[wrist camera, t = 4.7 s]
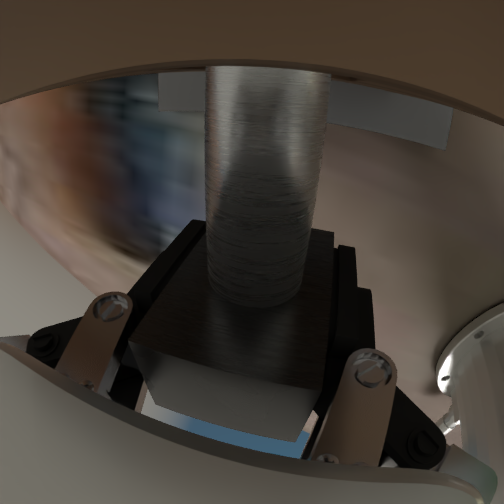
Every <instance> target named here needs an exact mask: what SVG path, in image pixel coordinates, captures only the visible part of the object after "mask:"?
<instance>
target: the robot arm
mask: <svg viewBox="0 0 504 504" xmlns="http://www.w3.org/2000/svg"><path fill="white" fill-rule="evenodd" d="M205 232H206V221H201V220H194V219H193V220H191V221H190V223H189V224H188V225H187V226H186V227H185V228H184V229H183V230H182V232H181V233H180V234H179V235H178V236H177V237H176V238H175V240H174V241H173V242H172V243H171V244H170V245H169V246H168V248H167V249H166V250H165V251H163V252H162V253H161V254H160V255H159V256H158V257H157V259H156V260H155V261H154V262H153V263H152V264H151V266H150V267H149V268H148V269H147V270H146V272H145V273H144V274H143V275H142V276H141V278H140V279H139V280H138V281H137V282H136V284H135V285H134V286H133V287H132V289H131V290H130V291H129V292H128V293H127V295H126V294H125V293H122V292H108V293H104V294H102V295H100V296H98V297H97V298H96V299H94V300H93V302H92V303H91V304H90V305H89V307H88V309H87V311H86V312H85V314H84V316H82V317H79V318H76V319H72V320H69V321H66V322H62V323H59V324H55V325H52V326H48V327H45V328H42V329H40V330H38V331H37V332H36V333H34V334H33V335H32V336H30V335H19V336H9V337H0V504H504V303H502V304H500V305H498V306H496V307H494V308H492V309H490V310H488V311H486V312H485V313H483V314H482V315H480V316H479V317H477V318H476V319H474V320H473V321H472V322H471V323H469V324H468V325H467V326H466V327H464V328H463V329H462V330H461V331H460V332H459V333H458V334H457V335H456V336H455V337H454V338H453V339H452V340H451V342H450V343H449V344H448V345H447V346H446V348H445V349H444V351H443V352H442V354H441V356H440V357H439V360H438V363H437V366H436V379H437V385H438V387H439V389H440V391H441V392H443V393H444V394H445V395H447V396H449V397H451V398H452V405H451V406H450V408H449V412H448V413H446V414H445V415H444V416H443V417H442V418H441V419H439V420H438V421H437V422H436V423H434V422H433V421H432V420H431V419H430V418H429V417H428V416H427V415H425V414H424V413H423V412H422V411H421V410H420V409H419V408H418V407H417V406H416V405H415V404H414V403H413V402H412V401H411V400H410V399H409V398H408V397H407V396H406V395H405V394H404V393H403V392H402V391H401V390H400V389H399V388H398V387H397V386H396V382H397V369H396V366H395V363H394V362H393V361H392V360H391V358H390V357H389V356H387V355H386V354H385V353H383V352H381V351H379V350H377V349H375V332H374V317H373V304H372V293H371V290H370V289H366V288H360V287H357V269H356V254H355V248H354V247H349V246H344V245H339V246H338V249H337V248H334V251H333V275H332V292H331V307H330V320H329V332H328V342H327V352H326V361H325V370H324V379H323V386H322V392H321V394H320V396H319V398H318V400H317V402H316V404H315V406H314V408H313V410H314V411H315V413H316V414H317V415H318V416H317V418H316V421H315V423H314V426H313V428H312V431H311V433H310V436H309V438H308V440H307V443H306V445H305V447H304V449H303V452H302V454H301V456H300V458H299V459H297V458H291V457H285V456H280V455H275V454H270V453H265V452H260V451H255V450H252V449H247V448H243V447H239V446H235V445H232V444H228V443H224V442H220V441H217V440H214V439H210V438H207V437H203V436H200V435H197V434H194V433H191V432H188V431H185V430H182V429H179V428H177V427H174V426H171V425H168V424H166V423H163V422H160V421H158V420H155V419H153V418H150V417H148V416H145V415H143V414H141V411H142V407H143V404H144V400H145V397H146V393H147V390H148V387H147V385H146V383H145V381H144V379H143V376H142V374H141V372H140V369H139V367H138V365H137V362H136V360H135V358H134V355H133V353H132V350H131V348H130V345H129V343H128V339H129V338H130V336H131V335H132V334H133V332H134V331H135V329H136V328H137V326H138V325H139V323H140V322H141V320H142V319H143V318H144V316H145V315H146V313H147V312H148V310H149V309H150V308H151V306H152V305H153V303H154V302H155V300H156V299H157V298H158V296H159V295H160V293H161V292H162V291H163V289H164V288H165V286H166V285H167V284H168V282H169V281H170V279H171V278H172V277H173V275H174V274H175V273H176V271H177V270H178V268H179V267H180V266H181V264H182V263H183V262H184V260H185V259H186V258H187V256H188V255H189V254H190V252H191V251H192V250H193V248H194V247H195V246H196V244H197V243H198V242H199V240H200V239H201V238H202V236H203V235H204V234H205ZM457 424H460V428H461V439H462V449H461V448H459V447H458V446H456V445H454V444H452V445H451V446H449V445H448V444H446V439H445V436H444V435H446V434H447V433H449V432H450V431H451V430H452V429H454V428H455V427H456V426H457Z"/></svg>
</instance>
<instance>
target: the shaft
mask: <svg viewBox="0 0 504 504" xmlns="http://www.w3.org/2000/svg"><path fill="white" fill-rule="evenodd" d="M330 84H331V74H327V73H320V72H313V71H304V70H295V69H284V68H271V67H250V66H206V76H205V204H206V232H205V234H204V235H203V236H202V238H201V239H200V240H199V242H198V243H197V244H196V246H195V247H194V248H193V250H192V251H191V252H190V254H189V255H188V256H187V258H186V259H185V260H184V262H183V263H182V264H181V266H180V267H179V268H178V270H177V271H176V273H175V274H174V275H173V277H172V278H171V279H170V281H169V282H168V284H167V285H166V286H165V288H164V289H163V291H162V292H161V293H160V295H159V296H158V298H157V299H156V300H155V302H154V303H153V305H152V306H151V308H150V309H149V310H148V312H147V313H146V315H145V316H144V318H143V319H142V320H141V322H140V323H139V325H138V326H137V328H136V329H135V331H134V332H133V334H132V335H131V336H130V338H129V339H128V343H129V345H130V348H131V350H132V353H133V355H134V358H135V360H136V362H137V365H138V367H139V369H140V372H141V374H142V376H143V379H144V381H145V383H146V385H147V387H148V390H149V392H150V394H151V396H152V398H153V400H154V402H155V404H156V405H159V406H161V407H164V408H167V409H169V410H172V411H175V412H178V413H181V414H184V415H187V416H190V417H193V418H196V419H199V420H202V421H206V422H209V423H212V424H216V425H220V426H223V427H226V428H230V429H234V430H238V431H242V432H246V433H250V434H255V435H259V436H264V437H269V438H274V439H278V440H284V441H290V442H296V440H297V438H298V436H299V434H300V433H301V431H302V429H303V427H304V425H305V423H306V422H307V420H308V418H309V416H310V414H311V412H312V410H313V408H314V406H315V404H316V402H317V400H318V398H319V396H320V394H321V392H322V386H323V379H324V370H325V361H326V352H327V342H328V332H329V320H330V307H331V292H332V275H333V251H334V232H330V231H324V230H319V229H313V228H311V226H312V220H313V214H314V208H315V202H316V195H317V189H318V182H319V175H320V168H321V161H322V153H323V146H324V138H325V130H326V121H327V113H328V104H329V94H330Z"/></svg>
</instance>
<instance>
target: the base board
mask: <svg viewBox="0 0 504 504" xmlns="http://www.w3.org/2000/svg"><path fill="white" fill-rule="evenodd" d="M205 76H206V72H169V73H158V98H159V112H160V111H205ZM452 114H453V108H452V107H448V106H445V105H441V104H438V103H434V102H431V101H427V100H423V99H419V98H415V97H411V96H407V95H402V94H398V93H393V92H389V91H385V90H381V89H376V88H372V87H367V86H362V85H357V84H352V83H346V82H341V81H335V80H331V84H330V94H329V104H328V113H327V121H326V123H331V124H337V125H342V126H348V127H353V128H358V129H363V130H368V131H372V132H377V133H381V134H386V135H390V136H394V137H398V138H402V139H406V140H410V141H413V142H417V143H421V144H424V145H428V146H431V147H434V148H438V149H441V150H444V151H445V150H446V145H447V141H448V136H449V131H450V126H451V120H452Z"/></svg>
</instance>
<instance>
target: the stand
mask: <svg viewBox="0 0 504 504" xmlns="http://www.w3.org/2000/svg"><path fill="white" fill-rule="evenodd" d="M206 66H250V67H271V68H284V69H295V70H304V71H313V72H320V73H327V74H331V80H335V81H341V82H346V83H352V84H357V85H362V86H367V87H372V88H376V89H381V90H385V91H389V92H393V93H398V94H402V95H407V96H411V97H415V98H419V99H423V100H427V101H431V102H434V103H438V104H441V105H445V106H448V107H452V108H455V109H458V110H461V111H464V112H467V113H470V114H473V115H476V116H478V117H481V118H484V119H487V120H489V121H492V122H494V123H497V124H499V125H502V126H504V0H0V104H3V103H6V102H9V101H12V100H15V99H18V98H22V97H25V96H28V95H32V94H36V93H39V92H43V91H47V90H51V89H55V88H60V87H64V86H69V85H73V84H78V83H84V82H89V81H95V80H101V79H108V78H115V77H123V76H132V75H141V74H153V73H169V72H206Z"/></svg>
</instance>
